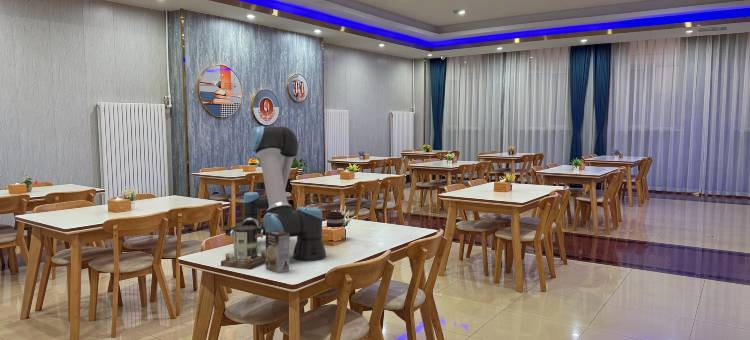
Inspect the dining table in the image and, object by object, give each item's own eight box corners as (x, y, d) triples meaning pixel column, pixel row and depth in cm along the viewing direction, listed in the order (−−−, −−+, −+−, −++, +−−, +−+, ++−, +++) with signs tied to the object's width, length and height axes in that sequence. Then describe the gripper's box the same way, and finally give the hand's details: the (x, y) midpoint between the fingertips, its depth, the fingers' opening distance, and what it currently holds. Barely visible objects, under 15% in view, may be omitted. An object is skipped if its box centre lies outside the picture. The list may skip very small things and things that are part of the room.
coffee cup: (326, 242, 278) (326, 214, 277) (324, 238, 288) (324, 211, 287) (345, 241, 280) (345, 213, 279) (342, 237, 290) (342, 210, 289)
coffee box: (264, 269, 225) (264, 231, 224) (276, 266, 230) (276, 229, 229) (278, 273, 219) (278, 235, 218) (290, 270, 224) (290, 232, 223)
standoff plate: (269, 261, 238) (269, 250, 238) (250, 269, 224) (250, 257, 224) (241, 257, 243) (241, 247, 243) (220, 265, 229) (220, 254, 229)
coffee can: (256, 255, 240) (256, 224, 239) (258, 261, 230) (258, 229, 229) (233, 256, 237) (232, 225, 236) (234, 262, 227) (233, 230, 226)
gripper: (275, 233, 263) (274, 242, 242) (223, 234, 259) (218, 244, 238) (275, 218, 262) (274, 226, 242) (223, 219, 258) (217, 227, 238)
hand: (246, 235), depth 240 cm, fingers open, 13 cm apart
